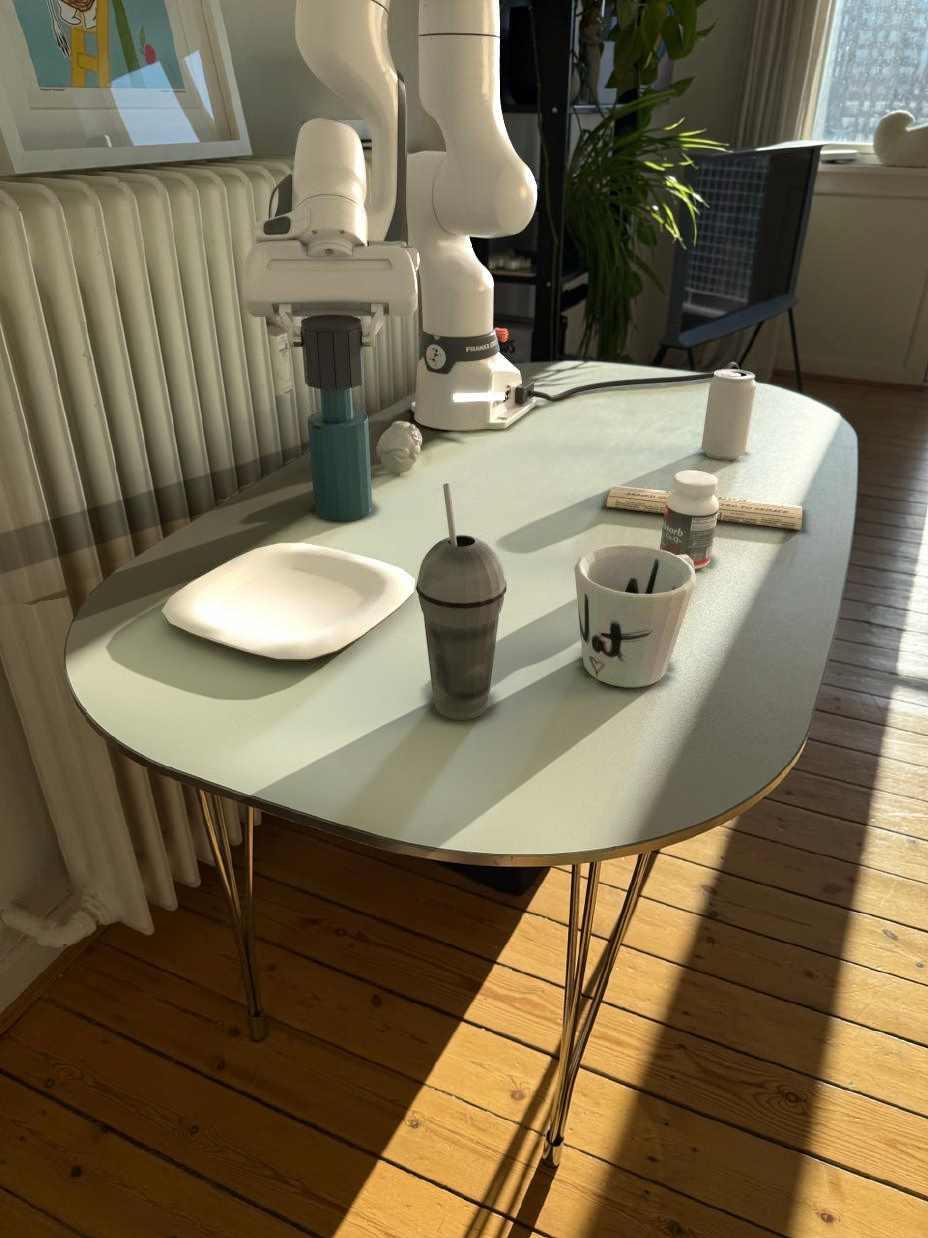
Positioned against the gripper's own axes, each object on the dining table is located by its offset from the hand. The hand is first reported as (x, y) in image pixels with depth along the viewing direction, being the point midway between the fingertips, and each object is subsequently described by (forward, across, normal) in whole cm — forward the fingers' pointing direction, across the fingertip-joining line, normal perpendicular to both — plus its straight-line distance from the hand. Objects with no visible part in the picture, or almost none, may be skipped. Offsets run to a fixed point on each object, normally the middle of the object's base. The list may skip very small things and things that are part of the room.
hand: (331, 344), depth 103 cm
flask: (+14, 0, -15) cm, 21 cm away
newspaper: (+16, -46, -13) cm, 50 cm away
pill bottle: (+26, -39, -3) cm, 47 cm away
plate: (+32, +4, +2) cm, 33 cm away
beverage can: (+2, -55, -28) cm, 62 cm away
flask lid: (+3, 0, -4) cm, 4 cm away
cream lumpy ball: (+5, -8, -25) cm, 26 cm away
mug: (+41, -29, +11) cm, 51 cm away
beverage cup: (+45, -12, +16) cm, 49 cm away
